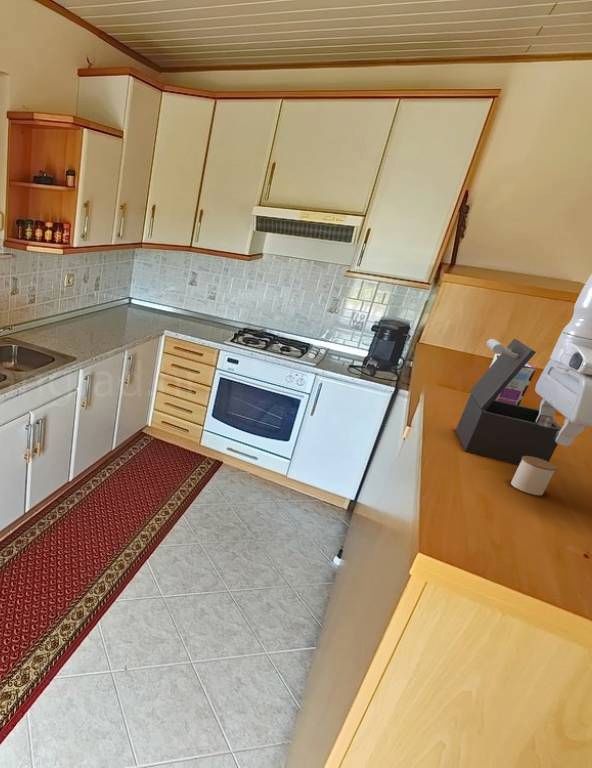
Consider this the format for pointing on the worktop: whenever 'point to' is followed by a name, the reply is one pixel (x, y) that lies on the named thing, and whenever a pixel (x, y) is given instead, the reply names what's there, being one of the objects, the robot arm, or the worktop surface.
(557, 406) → the robot arm
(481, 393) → the grey lid with handle
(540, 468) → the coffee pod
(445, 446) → the worktop surface
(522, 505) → the worktop surface
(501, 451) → the grey hinged lid box
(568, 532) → the worktop surface
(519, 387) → the candy bar box
